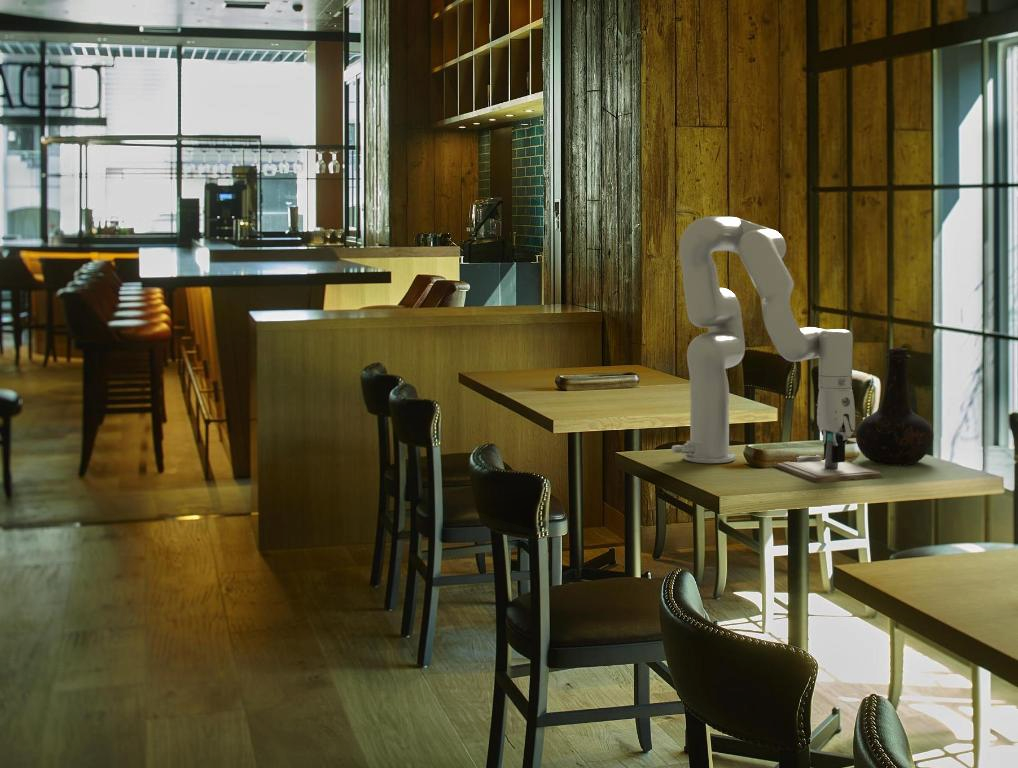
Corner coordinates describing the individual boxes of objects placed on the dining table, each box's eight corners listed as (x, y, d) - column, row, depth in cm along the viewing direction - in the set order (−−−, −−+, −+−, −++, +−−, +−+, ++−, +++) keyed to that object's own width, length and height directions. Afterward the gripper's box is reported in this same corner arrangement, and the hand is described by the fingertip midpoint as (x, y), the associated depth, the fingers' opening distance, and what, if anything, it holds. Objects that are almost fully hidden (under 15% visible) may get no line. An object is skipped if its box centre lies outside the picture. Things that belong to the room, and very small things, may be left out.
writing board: (815, 482, 284) (815, 472, 284) (774, 466, 303) (774, 457, 303) (882, 477, 289) (882, 467, 288) (837, 462, 308) (837, 453, 308)
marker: (827, 468, 292) (830, 434, 292) (822, 466, 295) (825, 432, 294) (839, 469, 293) (843, 435, 292) (834, 466, 296) (837, 433, 295)
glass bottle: (844, 464, 304) (846, 349, 301) (870, 453, 319) (873, 343, 315) (918, 472, 294) (921, 353, 291) (942, 460, 308) (945, 346, 305)
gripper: (868, 385, 285) (867, 465, 287) (831, 378, 301) (830, 454, 303) (838, 387, 283) (837, 468, 285) (803, 379, 299) (802, 456, 301)
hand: (834, 460), depth 294 cm, fingers closed on marker, 2 cm apart
